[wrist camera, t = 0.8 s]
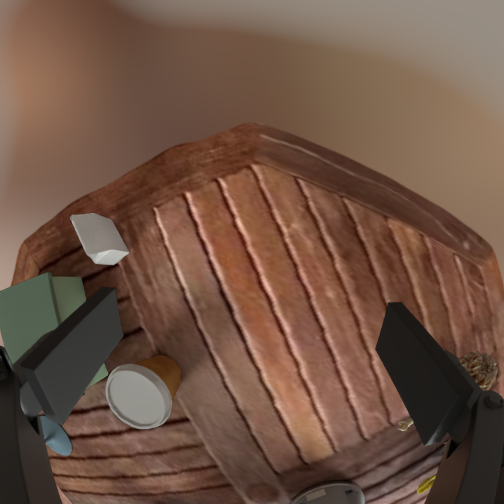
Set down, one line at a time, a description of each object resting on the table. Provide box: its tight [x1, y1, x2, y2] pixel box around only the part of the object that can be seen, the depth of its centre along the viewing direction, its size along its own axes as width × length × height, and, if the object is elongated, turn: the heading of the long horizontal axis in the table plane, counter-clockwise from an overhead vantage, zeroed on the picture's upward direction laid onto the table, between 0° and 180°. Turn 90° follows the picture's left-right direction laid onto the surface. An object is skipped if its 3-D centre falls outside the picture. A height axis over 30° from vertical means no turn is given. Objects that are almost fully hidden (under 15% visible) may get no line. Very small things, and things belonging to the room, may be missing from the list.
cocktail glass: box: [40, 416, 72, 455], centre depth 29 cm, size 18×18×25 cm
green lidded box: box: [0, 272, 108, 396], centre depth 38 cm, size 19×17×10 cm
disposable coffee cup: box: [105, 355, 182, 429], centre depth 36 cm, size 10×10×12 cm
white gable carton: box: [70, 213, 129, 265], centre depth 39 cm, size 4×7×10 cm, turn 34°
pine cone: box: [398, 351, 498, 431], centre depth 35 cm, size 22×10×10 cm, turn 120°
